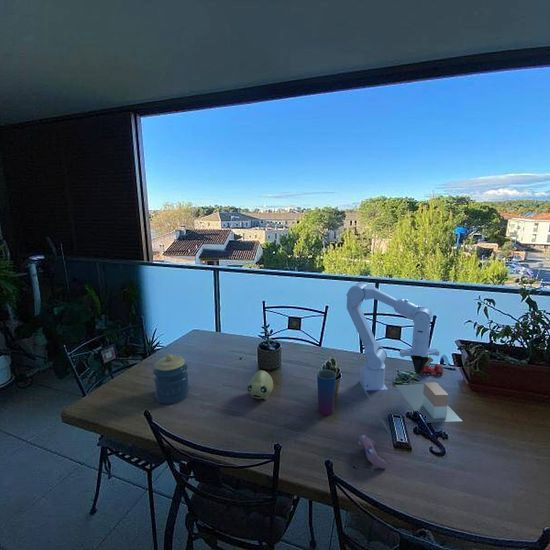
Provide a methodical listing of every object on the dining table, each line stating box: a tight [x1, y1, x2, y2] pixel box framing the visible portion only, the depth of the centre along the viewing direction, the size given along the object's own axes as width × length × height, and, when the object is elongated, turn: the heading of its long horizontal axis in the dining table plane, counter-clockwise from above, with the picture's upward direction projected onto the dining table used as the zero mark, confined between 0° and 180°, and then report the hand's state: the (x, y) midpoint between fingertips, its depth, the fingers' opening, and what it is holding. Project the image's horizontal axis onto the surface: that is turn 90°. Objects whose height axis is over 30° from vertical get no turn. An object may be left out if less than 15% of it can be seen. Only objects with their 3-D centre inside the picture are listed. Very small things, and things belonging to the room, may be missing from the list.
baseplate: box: [394, 383, 463, 424], centre depth 124 cm, size 14×24×1 cm, turn 3°
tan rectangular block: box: [423, 381, 449, 407], centre depth 116 cm, size 4×8×4 cm, turn 2°
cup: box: [316, 369, 337, 417], centre depth 117 cm, size 7×7×15 cm
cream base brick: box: [422, 394, 447, 418], centre depth 117 cm, size 4×8×4 cm, turn 3°
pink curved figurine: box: [357, 434, 388, 469], centre depth 96 cm, size 10×5×7 cm, turn 5°
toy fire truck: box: [419, 355, 444, 376], centre depth 144 cm, size 3×14×10 cm, turn 84°
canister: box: [152, 353, 190, 405], centre depth 128 cm, size 13×13×18 cm
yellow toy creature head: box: [247, 369, 274, 401], centre depth 127 cm, size 10×12×11 cm
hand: (417, 372), depth 125 cm, fingers closed
